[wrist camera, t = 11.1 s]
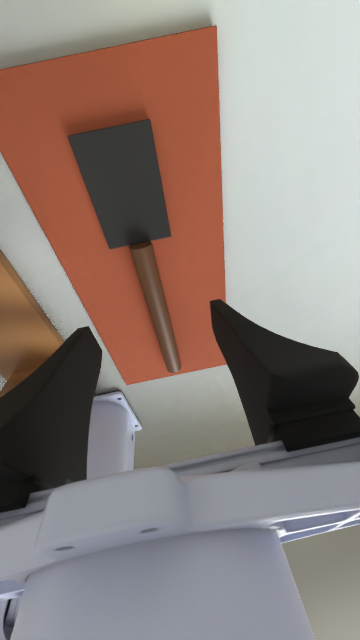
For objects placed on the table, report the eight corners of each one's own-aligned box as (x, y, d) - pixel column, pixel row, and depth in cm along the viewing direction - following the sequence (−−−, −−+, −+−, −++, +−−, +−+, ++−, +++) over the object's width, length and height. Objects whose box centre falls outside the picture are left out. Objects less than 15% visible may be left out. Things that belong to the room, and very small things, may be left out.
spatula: (193, 357, 23) (195, 368, 21) (153, 365, 23) (154, 377, 21) (150, 120, 11) (150, 114, 10) (69, 136, 11) (59, 132, 10)
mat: (226, 361, 24) (227, 364, 24) (126, 382, 24) (126, 385, 24) (214, 29, 10) (216, 24, 10) (-34, 80, 10) (-40, 77, 10)
